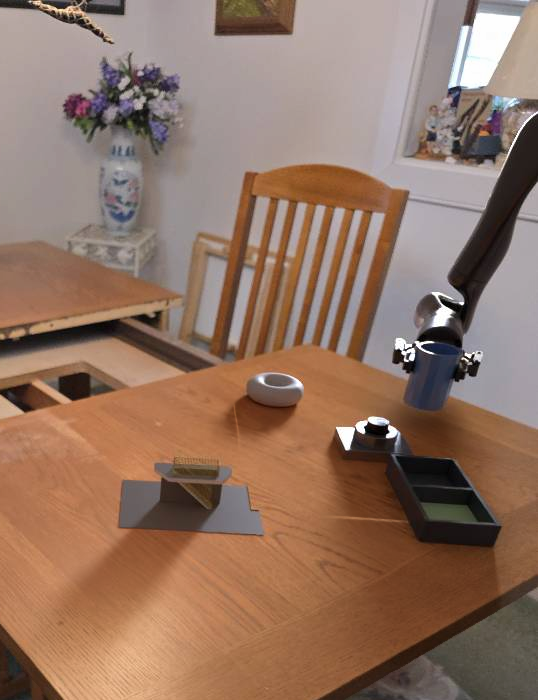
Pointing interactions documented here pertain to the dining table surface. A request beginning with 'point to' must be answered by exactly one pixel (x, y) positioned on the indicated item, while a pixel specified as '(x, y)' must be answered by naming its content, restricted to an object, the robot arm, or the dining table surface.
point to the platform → (189, 500)
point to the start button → (377, 426)
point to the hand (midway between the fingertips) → (433, 371)
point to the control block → (369, 444)
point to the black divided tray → (441, 501)
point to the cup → (432, 376)
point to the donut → (275, 389)
